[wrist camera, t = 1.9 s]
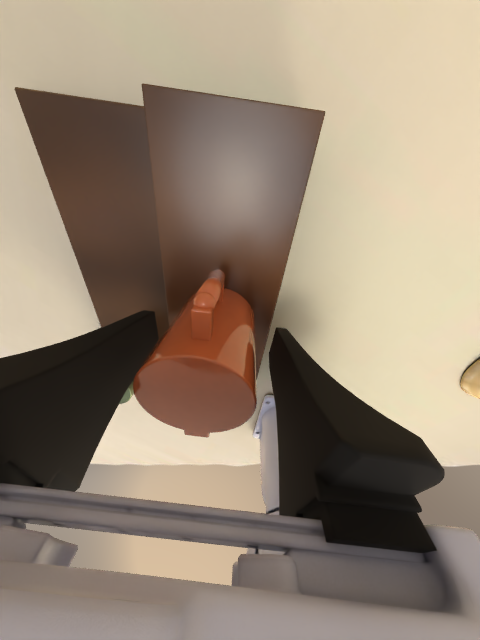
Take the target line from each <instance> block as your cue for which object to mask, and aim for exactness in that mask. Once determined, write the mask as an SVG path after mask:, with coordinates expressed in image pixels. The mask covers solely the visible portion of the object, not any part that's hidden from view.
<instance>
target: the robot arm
mask: <svg viewBox="0 0 480 640" xmlns="http://www.w3.org/2000/svg"><path fill="white" fill-rule="evenodd" d="M158 340H159V336H158V330H157V323H156V317H155V311H147V310H143V311H140V312H137V313H135V314H133V315H130V316H128V317H126V318H123V319H121V320H119V321H116V322H114V323H112V324H109V325H107V326H104V327H102V328H99V329H97V330H94V331H92V332H89V333H87V334H84V335H81V336H78V337H76V338H73V339H70V340H67V341H63V342H60V343H57V344H54V345H50V346H47V347H43V348H39V349H36V350H32V351H28V352H25V353H21V354H17V355H12V356H8V357H4V358H0V640H480V540H479V538H478V537H477V535H476V534H475V532H473V531H472V530H470V529H468V528H460V527H451V526H442V525H423V523H422V521H421V520H420V518H419V516H418V514H417V512H418V513H419V512H421V511H422V509H421V506H420V505H419V503H418V501H417V499H416V498H415V496H414V495H416V494H419V493H420V492H423V491H425V490H427V489H429V488H431V487H433V486H435V485H437V484H438V483H440V482H441V481H442V480H443V478H444V469H443V468H442V466H441V465H440V463H439V462H438V461H437V459H436V458H435V457H434V455H433V454H432V452H431V451H430V450H429V448H428V447H427V446H426V444H425V443H424V442H423V440H422V439H421V438H420V437H418V436H417V435H415V434H413V433H412V432H410V431H409V430H407V429H405V428H404V427H402V426H400V425H399V424H397V423H395V422H394V421H392V420H390V419H389V418H387V417H385V416H384V415H382V414H381V413H379V412H378V411H376V410H375V409H373V408H372V407H370V406H369V405H367V404H366V403H365V402H363V401H362V400H360V399H359V398H357V397H356V396H355V395H353V394H352V393H351V392H350V391H348V390H347V389H346V388H344V387H343V386H342V385H341V384H339V383H338V382H337V381H336V380H335V379H333V378H332V377H331V376H330V375H329V374H328V373H327V372H325V371H324V370H323V369H322V368H321V367H320V366H319V365H318V364H317V363H316V362H315V361H314V360H313V359H312V358H311V357H310V356H309V355H308V354H307V352H306V351H305V350H304V349H303V348H302V347H301V346H300V344H299V343H298V342H297V341H296V340H295V338H294V337H293V336H292V335H291V334H290V332H289V331H288V330H287V329H283V328H276V330H275V334H274V337H273V341H272V345H271V348H270V352H269V368H270V375H271V381H272V387H273V394H274V395H266V396H265V397H264V400H263V403H262V406H261V409H260V412H259V416H258V419H257V422H256V425H255V428H254V431H253V437H254V438H259V439H260V457H261V486H262V495H263V499H264V502H265V505H266V514H264V513H255V512H247V511H237V510H229V509H220V508H212V507H203V506H195V505H186V504H177V503H168V502H160V501H151V500H143V499H133V498H125V497H116V496H108V495H99V494H91V493H82V492H75V491H76V490H77V489H78V488H79V487H80V485H81V482H82V480H83V478H84V475H85V473H86V471H87V468H88V466H89V464H90V462H91V459H92V457H93V455H94V453H95V450H96V448H97V446H98V444H99V442H100V440H101V438H102V436H103V434H104V432H105V430H106V428H107V426H108V424H109V422H110V420H111V418H112V416H113V414H114V412H115V410H116V408H117V407H118V405H119V403H120V401H121V399H122V398H123V396H124V394H125V392H126V391H127V389H128V387H129V386H130V384H131V383H132V382H133V380H134V377H135V375H136V373H137V371H138V370H139V369H140V367H141V366H142V364H143V363H144V362H145V360H146V359H147V357H148V356H149V354H150V353H151V352H152V350H153V349H154V347H155V346H156V344H157V342H158ZM25 523H30V524H39V525H48V526H57V527H66V528H75V529H83V530H92V531H102V532H110V533H119V534H128V535H137V536H146V537H156V538H164V539H172V540H181V541H190V542H191V541H192V542H199V543H208V544H217V545H226V546H235V547H245V548H248V550H247V554H241V555H240V556H239V558H238V562H235V563H234V565H233V574H232V586H228V585H220V584H212V583H204V582H196V581H188V580H180V579H172V578H164V577H156V576H147V575H139V574H130V573H121V572H113V571H103V570H93V569H85V568H76V567H69V566H70V564H71V562H72V560H73V558H74V556H75V554H76V552H77V550H78V546H77V545H75V544H71V543H68V542H64V541H62V540H59V539H57V538H54V537H52V536H51V535H49V534H48V533H43V532H37V531H32V530H27V529H26V525H25Z"/></svg>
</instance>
